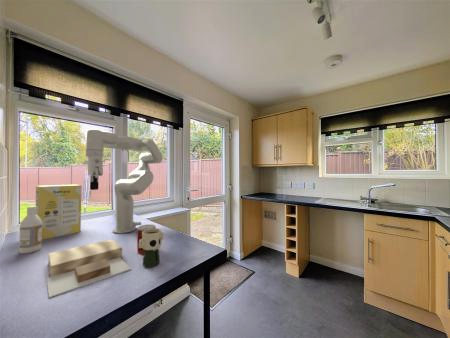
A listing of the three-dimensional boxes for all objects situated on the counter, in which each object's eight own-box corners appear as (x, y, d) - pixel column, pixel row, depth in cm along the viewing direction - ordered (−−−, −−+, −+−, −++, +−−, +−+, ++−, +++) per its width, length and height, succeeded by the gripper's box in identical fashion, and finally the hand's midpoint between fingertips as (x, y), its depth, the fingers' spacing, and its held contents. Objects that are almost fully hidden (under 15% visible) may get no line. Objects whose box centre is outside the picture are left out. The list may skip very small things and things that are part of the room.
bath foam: (37, 252, 83) (38, 207, 83) (15, 255, 80) (16, 208, 80) (44, 246, 89) (45, 204, 89) (24, 249, 86) (25, 205, 86)
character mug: (144, 273, 66) (145, 236, 66) (132, 268, 70) (133, 233, 70) (168, 261, 75) (169, 229, 76) (156, 256, 79) (157, 226, 79)
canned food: (137, 255, 80) (138, 230, 80) (136, 249, 87) (137, 225, 87) (156, 252, 83) (156, 227, 84) (154, 246, 90) (154, 223, 91)
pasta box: (75, 228, 118) (76, 184, 118) (80, 231, 111) (81, 185, 112) (34, 236, 103) (36, 185, 104) (37, 240, 97) (39, 186, 98)
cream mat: (119, 258, 78) (119, 257, 78) (131, 269, 68) (131, 268, 68) (46, 279, 62) (46, 278, 62) (49, 298, 53) (49, 296, 53)
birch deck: (112, 247, 88) (112, 239, 88) (121, 257, 79) (122, 247, 79) (48, 263, 72) (48, 253, 73) (50, 277, 63) (51, 266, 63)
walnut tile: (110, 265, 66) (110, 272, 66) (105, 259, 71) (105, 265, 71) (78, 275, 59) (78, 283, 59) (75, 267, 64) (74, 274, 64)
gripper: (107, 153, 93) (106, 190, 92) (99, 155, 103) (99, 188, 103) (89, 152, 87) (88, 191, 87) (82, 154, 98) (82, 189, 97)
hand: (94, 189), depth 95 cm, fingers closed
